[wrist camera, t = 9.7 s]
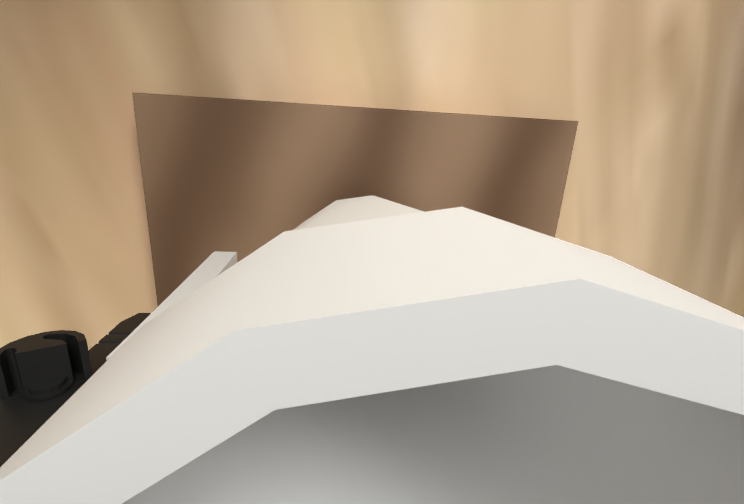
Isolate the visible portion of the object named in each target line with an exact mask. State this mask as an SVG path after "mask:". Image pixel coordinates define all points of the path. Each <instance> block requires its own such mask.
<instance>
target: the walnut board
mask: <svg viewBox="0 0 744 504" xmlns="http://www.w3.org/2000/svg"><path fill="white" fill-rule="evenodd" d="M133 102H134V110H135V118H136V127H137V135H138V144H139V152H140V160H141V169H142V177H143V185H144V194H145V202H146V210H147V219H148V227H149V235H150V244H151V252H152V260H153V269H154V277H155V285H156V294H157V302H158V306H159V305H160V304H161V303H162V302H163V301H164V300H165V299H166V298H167V297H168V296H169V295H170V294H171V293H172V292H173V291H175V290H176V289H177V288H178V287H179V286H180V285H181V284H182V283H183V282H184V281H185V280H186V279H187V278H188V277H189V276H190V275H191V274H192V273H193V272H194V271H195V270H196V269H197V268H198V267H199V266H200V265H201V264H202V263H203V262H204V261H205V260H206V259H207V258H208V257H209V256H210V255H211V254H212V253H213V252H214V251H220V252H237V263H238V262H239V261H241V260H242V259H244V258H245V257H247V256H248V255H250V254H251V253H253V252H254V251H256V250H257V249H259V248H260V247H262V246H263V245H265V244H266V243H268V242H269V241H271V240H272V239H274V238H275V237H277V236H278V235H280V234H281V233H283V232H284V231H291V230H294V229H295V228H296V227H298V226H299V225H300V224H301V223H303V222H304V221H306V220H307V219H309V218H310V217H312V216H313V215H315V214H316V213H318V212H319V211H321V210H322V209H324V208H325V207H327V206H328V205H330V204H331V203H333V202H334V201H336V200H342V199H349V198H356V197H364V196H371V195H372V196H377V197H380V198H383V199H386V200H389V201H393V202H396V203H399V204H402V205H405V206H408V207H411V208H415V209H418V210H421V211H424V212H427V211H434V210H441V209H448V208H456V207H465V208H468V209H471V210H474V211H477V212H480V213H483V214H486V215H489V216H492V217H495V218H498V219H501V220H504V221H507V222H510V223H513V224H516V225H519V226H522V227H525V228H528V229H531V230H534V231H537V232H540V233H543V234H546V235H548V236H551V237H554V238H555V233H556V228H557V223H558V218H559V214H560V209H561V204H562V199H563V194H564V189H565V184H566V179H567V174H568V169H569V164H570V159H571V154H572V150H573V145H574V140H575V135H576V130H577V125H578V121H564V120H548V119H533V118H517V117H502V116H486V115H471V114H456V113H440V112H425V111H409V110H394V109H378V108H363V107H347V106H332V105H316V104H301V103H285V102H270V101H254V100H239V99H223V98H208V97H193V96H177V95H162V94H146V93H133Z"/></svg>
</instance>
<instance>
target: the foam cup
mask: <svg viewBox="0 0 744 504" xmlns="http://www.w3.org/2000/svg"><path fill="white" fill-rule="evenodd" d="M0 504H744V317H742V316H740V315H738V314H735V313H733V312H731V311H729V310H727V309H724V308H722V307H720V306H718V305H716V304H714V303H711V302H709V301H707V300H705V299H703V298H700V297H698V296H696V295H694V294H692V293H690V292H687V291H685V290H683V289H681V288H679V287H677V286H674V285H672V284H670V283H668V282H666V281H663V280H661V279H659V278H657V277H655V276H653V275H650V274H648V273H646V272H644V271H642V270H639V269H637V268H635V267H633V266H631V265H629V264H626V263H624V262H622V261H620V260H618V259H615V258H613V257H611V256H608V255H605V254H602V253H599V252H596V251H593V250H590V249H587V248H584V247H581V246H578V245H575V244H572V243H569V242H566V241H563V240H560V239H557V238H554V237H551V236H548V235H546V234H543V233H540V232H537V231H534V230H531V229H528V228H525V227H522V226H519V225H516V224H513V223H510V222H507V221H504V220H501V219H498V218H495V217H492V216H489V215H486V214H483V213H480V212H477V211H474V210H471V209H468V208H465V207H456V208H448V209H441V210H434V211H427V212H424V211H421V210H418V209H415V208H411V207H408V206H405V205H402V204H399V203H396V202H393V201H389V200H386V199H383V198H380V197H377V196H372V195H371V196H364V197H356V198H349V199H342V200H336V201H334V202H333V203H331V204H330V205H328V206H327V207H325V208H324V209H322V210H321V211H319V212H318V213H316V214H315V215H313V216H312V217H310V218H309V219H307V220H306V221H304V222H303V223H301V224H300V225H299V226H298V227H296V228H295V229H294V230H291V231H284V232H283V233H281V234H280V235H278V236H277V237H275V238H274V239H272V240H271V241H269V242H268V243H266V244H265V245H263V246H262V247H260V248H259V249H257V250H256V251H254V252H253V253H251V254H250V255H248V256H247V257H245V258H244V259H242V260H241V261H239V262H238V263H236V264H235V265H233V266H231V267H230V268H228V269H227V270H225V271H224V272H222V273H221V274H219V275H218V276H216V277H215V278H213V279H212V280H210V281H209V282H207V283H206V284H204V285H203V286H201V287H200V288H198V289H197V290H195V291H194V292H192V293H191V294H189V295H188V296H186V297H185V298H183V299H182V300H180V301H179V302H177V303H176V304H174V305H173V306H171V307H170V308H168V309H167V310H165V311H164V312H162V313H161V314H159V315H158V316H156V317H155V318H153V319H152V320H150V321H149V322H147V323H146V324H144V325H143V326H142V327H141V328H140V329H139V330H138V331H137V332H136V333H135V334H134V335H133V336H132V337H131V338H130V339H129V340H128V341H127V342H125V343H124V344H123V345H122V346H121V347H120V348H119V349H118V350H117V351H116V352H115V353H114V354H113V355H112V356H111V357H110V358H109V359H108V360H107V361H106V362H105V363H104V364H103V365H102V366H101V367H100V368H99V369H98V370H97V371H96V372H95V373H94V374H93V375H92V376H91V377H90V378H89V379H88V380H87V381H86V382H85V383H84V384H83V385H82V386H81V387H80V388H79V389H78V390H77V391H76V392H75V393H74V394H73V395H72V396H71V397H70V398H69V399H68V400H67V401H66V402H65V403H64V404H63V405H62V406H61V407H60V408H59V409H58V410H57V411H56V412H55V413H54V414H53V415H52V416H51V417H50V418H49V419H48V420H47V421H46V422H45V423H44V424H43V425H42V426H41V427H40V428H39V429H38V430H37V431H36V432H35V433H34V434H33V435H32V436H31V437H30V438H29V439H28V440H27V441H26V442H25V443H24V444H23V445H22V446H21V447H20V448H19V449H18V450H17V451H16V452H15V453H14V454H13V455H12V456H11V457H10V458H9V459H8V460H7V461H6V462H5V463H4V464H3V465H2V466H1V467H0Z"/></svg>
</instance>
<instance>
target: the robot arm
mask: <svg viewBox="0 0 744 504" xmlns="http://www.w3.org/2000/svg"><path fill="white" fill-rule="evenodd" d="M236 263H237V252H220V251H214V252H213V253H212V254H211V255H210V256H209V257H208V258H207V259H206V260H205V261H204V262H203V263H202V264H201V265H200V266H199V267H198V268H197V269H196V270H195V271H194V272H193V273H192V274H191V275H190V276H189V277H188V278H187V279H186V280H185V281H184V282H183V283H182V284H181V285H180V286H179V287H178V288H177V289H176V290H175V291H173V292H172V293H171V294H170V295H169V296H168V297H167V298H166V299H165V300H164V301H163V302H162V303H161V304H160V305H159V306H158V307H157V308H156V309H155V310H154V311H153V312H152V313H138V314H136V315H134V316H132V317H130V318H128V319H126V320H124V321H122V322H120V323H119V324H118V325H117V326H116V327H115V328H114V329H113V330H111V331H110V332H109V335H106V336H105V337H103V338H102V339H101V340H100V341H99V344H96V345H94V346H93V347H92V348H91V349H90V350H89V351H88V346H87V341H86V338H85V336H84V334H81V333H79V332H76V331H65V330H60V331H51V332H43V333H39V334H35V335H31V336H27V337H24V338H21V339H19V340H16V341H13V342H11V343H9V344H7V345H5V346H3V347H2V348H0V467H1V466H2V465H3V464H4V463H5V462H6V461H7V460H8V459H9V458H10V457H11V456H12V455H13V454H14V453H15V452H16V451H17V450H18V449H19V448H20V447H21V446H22V445H23V444H24V443H25V442H26V441H27V440H28V439H29V438H30V437H31V436H32V435H33V434H34V433H35V432H36V431H37V430H38V429H39V428H40V427H41V426H42V425H43V424H44V423H45V422H46V421H47V420H48V419H49V418H50V417H51V416H52V415H53V414H54V413H55V412H56V411H57V410H58V409H59V408H60V407H61V406H62V405H63V404H64V403H65V402H66V401H67V400H68V399H69V398H70V397H71V396H72V395H73V394H74V393H75V392H76V391H77V390H78V389H79V388H80V387H81V386H82V385H83V384H84V383H85V382H86V381H87V380H88V379H89V378H90V377H91V376H92V375H93V374H94V373H95V372H96V371H97V370H98V369H99V368H100V367H101V366H102V365H103V364H104V363H105V362H106V361H107V360H108V359H109V358H110V357H111V356H112V355H113V354H114V353H115V352H116V351H117V350H118V349H119V348H120V347H121V346H122V345H123V344H124V343H125V342H127V341H128V340H129V339H130V338H131V337H132V336H133V335H134V334H135V333H136V332H137V331H138V330H139V329H140V328H141V327H142V326H143V325H144V324H146V323H147V322H149V321H150V320H152V319H153V318H155V317H156V316H158V315H159V314H161V313H162V312H164V311H165V310H167V309H168V308H170V307H171V306H173V305H174V304H176V303H177V302H179V301H180V300H182V299H183V298H185V297H186V296H188V295H189V294H191V293H192V292H194V291H195V290H197V289H198V288H200V287H201V286H203V285H204V284H206V283H207V282H209V281H210V280H212V279H213V278H215V277H216V276H218V275H219V274H221V273H222V272H224V271H225V270H227V269H228V268H230V267H231V266H233V265H235V264H236Z"/></svg>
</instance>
